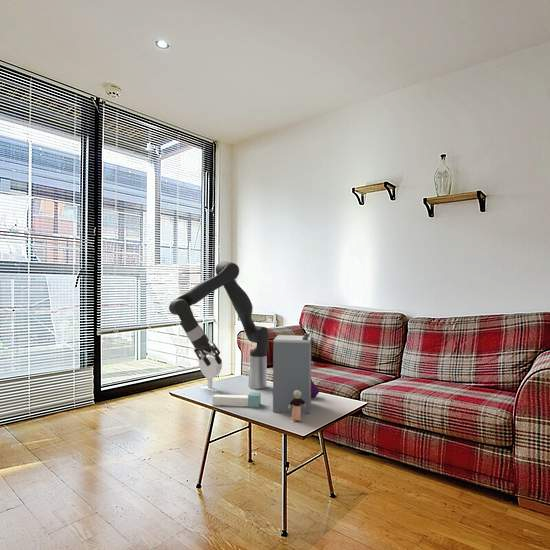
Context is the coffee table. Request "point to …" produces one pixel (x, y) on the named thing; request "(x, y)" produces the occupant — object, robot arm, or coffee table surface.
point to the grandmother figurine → (296, 406)
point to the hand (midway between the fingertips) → (214, 364)
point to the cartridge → (238, 400)
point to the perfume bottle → (313, 387)
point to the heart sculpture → (210, 370)
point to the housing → (291, 371)
